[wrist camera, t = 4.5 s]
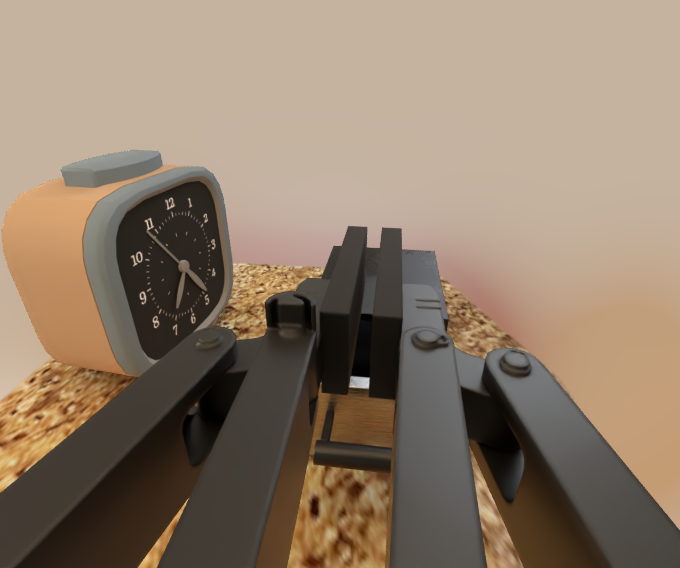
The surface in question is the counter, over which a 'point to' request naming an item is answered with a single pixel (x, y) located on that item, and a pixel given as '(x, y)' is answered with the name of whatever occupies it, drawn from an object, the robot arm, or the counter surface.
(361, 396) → the drawer
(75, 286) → the alarm clock
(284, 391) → the robot arm
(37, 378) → the counter surface
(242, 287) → the counter surface
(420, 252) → the cabinet
